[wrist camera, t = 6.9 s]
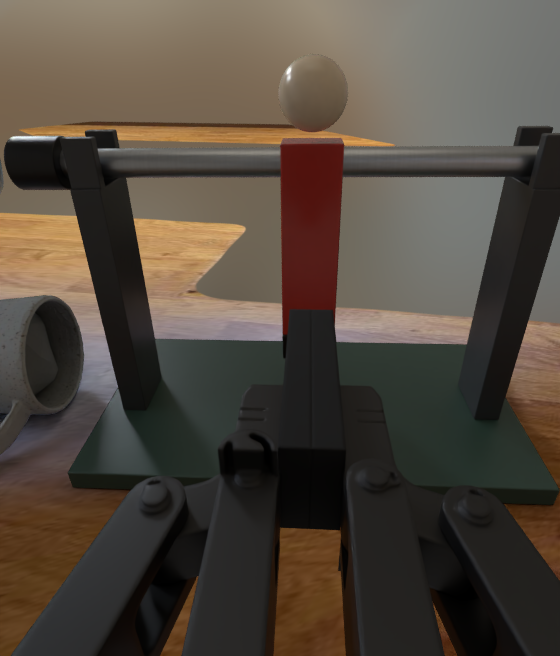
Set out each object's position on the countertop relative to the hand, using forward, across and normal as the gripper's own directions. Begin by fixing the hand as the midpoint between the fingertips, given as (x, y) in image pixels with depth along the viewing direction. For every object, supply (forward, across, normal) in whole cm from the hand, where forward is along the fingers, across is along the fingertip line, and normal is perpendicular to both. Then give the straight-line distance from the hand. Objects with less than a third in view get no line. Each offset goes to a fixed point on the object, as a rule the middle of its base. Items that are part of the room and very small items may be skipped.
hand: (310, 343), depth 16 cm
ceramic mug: (+9, -20, -12) cm, 25 cm away
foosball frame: (+10, 0, -12) cm, 15 cm away
